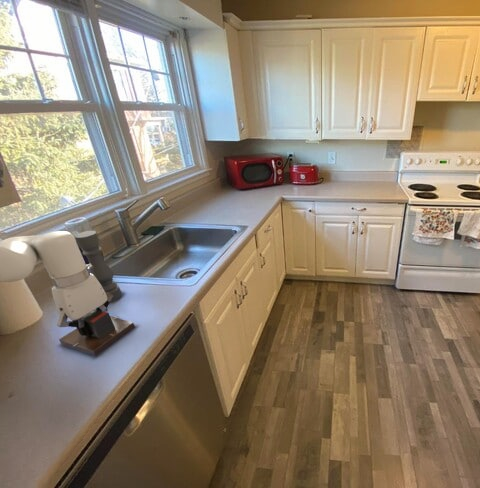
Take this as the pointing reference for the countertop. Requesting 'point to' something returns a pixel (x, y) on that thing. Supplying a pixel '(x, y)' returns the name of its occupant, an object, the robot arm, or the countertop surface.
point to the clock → (98, 323)
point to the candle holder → (98, 262)
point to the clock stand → (95, 344)
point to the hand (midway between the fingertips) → (96, 328)
